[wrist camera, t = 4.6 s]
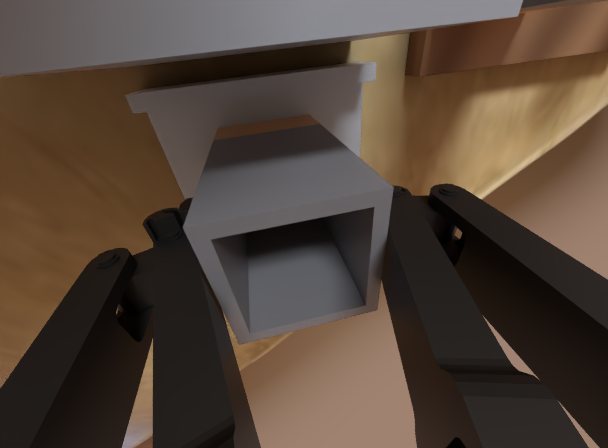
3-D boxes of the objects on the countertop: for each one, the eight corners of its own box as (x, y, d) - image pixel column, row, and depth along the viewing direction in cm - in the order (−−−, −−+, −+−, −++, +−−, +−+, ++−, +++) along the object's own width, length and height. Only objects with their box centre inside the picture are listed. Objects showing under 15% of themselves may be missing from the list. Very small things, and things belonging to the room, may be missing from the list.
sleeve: (240, 208, 17) (239, 344, 9) (217, 128, 14) (182, 227, 6) (315, 194, 18) (377, 310, 10) (309, 114, 14) (393, 187, 6)
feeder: (205, 238, 18) (175, 378, 10) (80, -52, 10) (-709, -578, 2) (354, 208, 20) (432, 312, 12) (363, -70, 11) (687, -409, 3)
